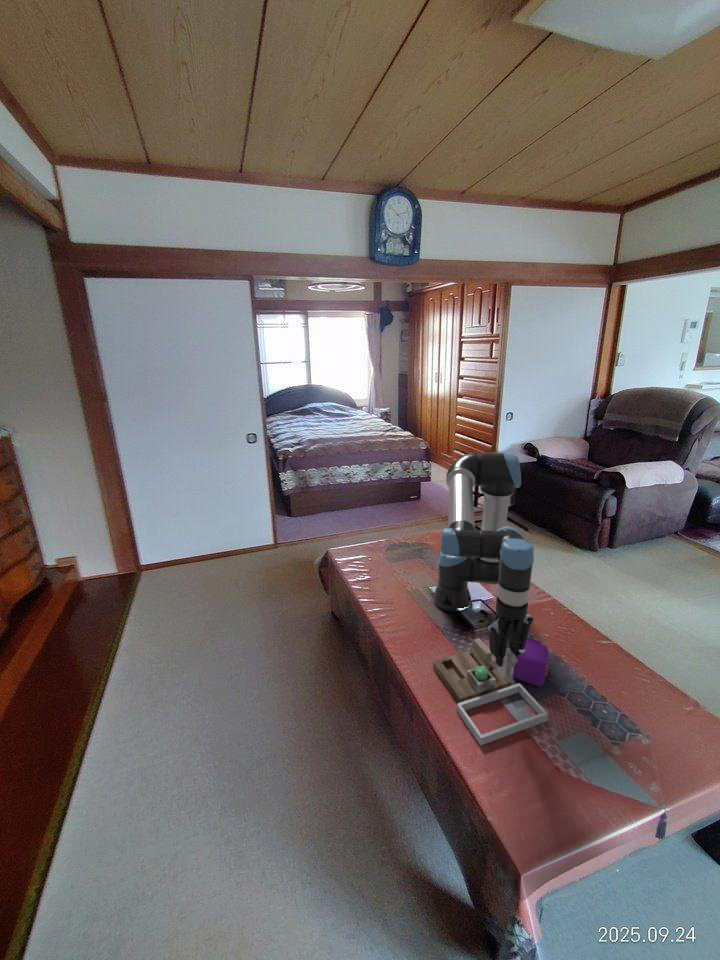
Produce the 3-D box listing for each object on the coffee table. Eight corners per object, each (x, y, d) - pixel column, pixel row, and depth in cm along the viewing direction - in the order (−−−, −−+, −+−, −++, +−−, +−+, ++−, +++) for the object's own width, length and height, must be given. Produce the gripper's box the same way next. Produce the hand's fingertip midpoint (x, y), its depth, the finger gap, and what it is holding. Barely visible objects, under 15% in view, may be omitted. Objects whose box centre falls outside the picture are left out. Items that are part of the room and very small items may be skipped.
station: (480, 653, 138) (481, 632, 136) (511, 688, 124) (513, 665, 121) (433, 667, 133) (433, 645, 130) (459, 705, 118) (461, 682, 116)
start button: (482, 674, 125) (483, 664, 124) (489, 682, 122) (490, 673, 121) (472, 677, 124) (472, 667, 123) (479, 686, 121) (479, 676, 120)
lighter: (493, 666, 114) (496, 642, 111) (499, 664, 114) (501, 641, 112) (510, 685, 107) (513, 660, 105) (516, 683, 108) (518, 659, 105)
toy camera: (545, 659, 135) (549, 634, 132) (549, 691, 123) (553, 663, 120) (511, 652, 138) (513, 628, 135) (511, 682, 126) (514, 656, 123)
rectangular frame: (518, 689, 123) (519, 683, 123) (547, 720, 113) (548, 713, 112) (456, 710, 117) (456, 703, 116) (480, 745, 106) (480, 738, 106)
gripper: (526, 584, 109) (518, 656, 116) (478, 596, 104) (473, 670, 112) (546, 600, 102) (536, 675, 110) (496, 613, 98) (490, 690, 105)
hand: (504, 672), depth 111 cm, fingers closed on lighter, 2 cm apart
